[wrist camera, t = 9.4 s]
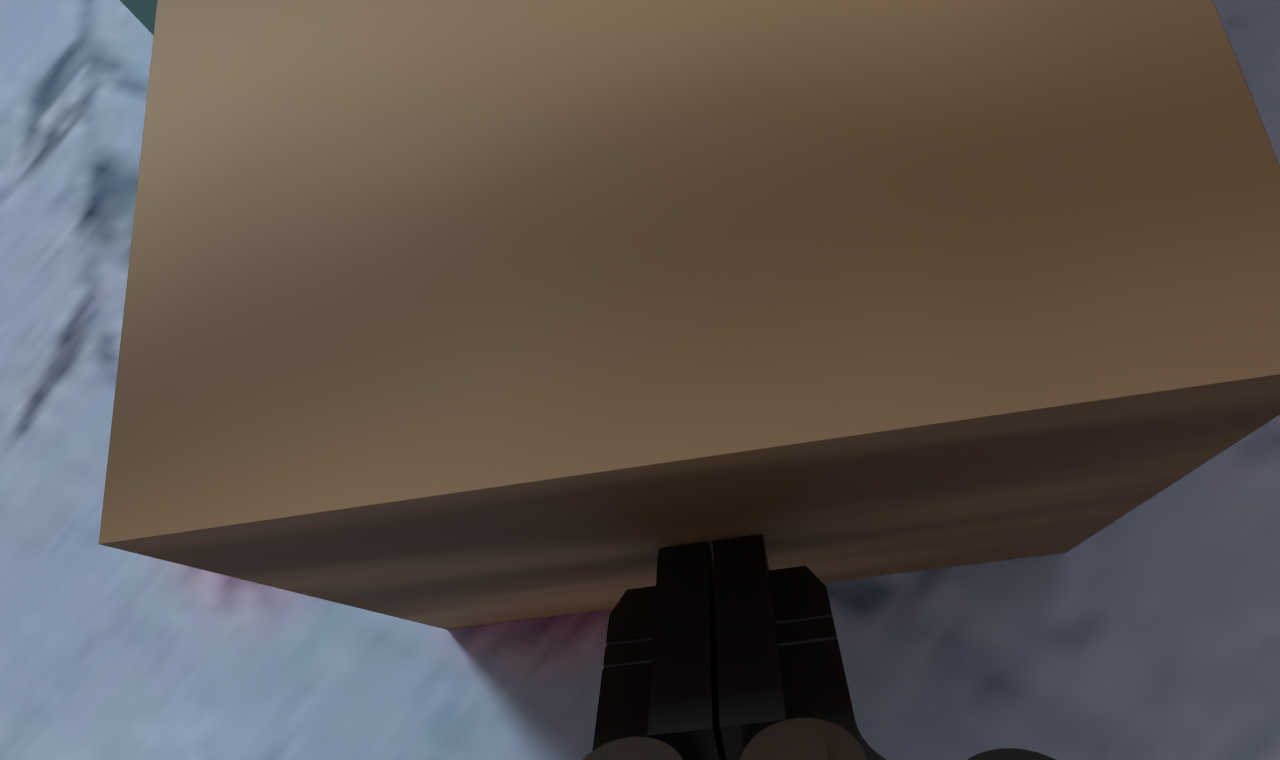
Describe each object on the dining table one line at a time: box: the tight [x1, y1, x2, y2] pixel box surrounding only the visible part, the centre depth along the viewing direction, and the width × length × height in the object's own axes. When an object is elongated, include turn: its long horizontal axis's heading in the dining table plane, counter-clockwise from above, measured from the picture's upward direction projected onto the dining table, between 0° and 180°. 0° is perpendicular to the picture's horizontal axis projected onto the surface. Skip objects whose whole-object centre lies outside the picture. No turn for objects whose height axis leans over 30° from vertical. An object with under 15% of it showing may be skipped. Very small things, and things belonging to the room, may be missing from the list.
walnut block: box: [99, 0, 1280, 630], centre depth 16 cm, size 15×12×10 cm
